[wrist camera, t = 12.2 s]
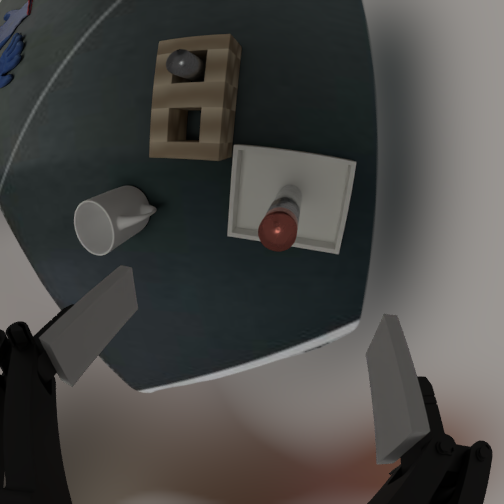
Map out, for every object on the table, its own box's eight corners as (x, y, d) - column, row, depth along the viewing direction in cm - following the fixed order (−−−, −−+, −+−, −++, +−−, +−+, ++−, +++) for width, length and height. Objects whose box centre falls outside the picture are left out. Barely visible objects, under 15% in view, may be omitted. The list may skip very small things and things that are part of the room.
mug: (172, 229, 44) (138, 256, 35) (119, 231, 47) (82, 255, 37) (164, 179, 41) (125, 194, 31) (110, 187, 44) (68, 203, 34)
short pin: (196, 65, 33) (167, 50, 25) (217, 64, 32) (193, 47, 24) (193, 85, 34) (164, 75, 26) (215, 84, 34) (190, 73, 26)
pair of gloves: (-3, 29, 29) (-10, 29, 26) (39, -15, 23) (31, -17, 20) (-11, 107, 42) (-19, 108, 38) (26, 68, 36) (16, 68, 32)
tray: (239, 144, 37) (233, 144, 34) (352, 160, 34) (356, 162, 32) (232, 229, 42) (227, 235, 40) (336, 246, 40) (338, 254, 37)
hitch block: (178, 50, 32) (159, 41, 26) (241, 47, 30) (230, 33, 25) (169, 153, 39) (149, 157, 34) (231, 157, 38) (218, 160, 32)
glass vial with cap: (279, 182, 37) (259, 211, 23) (303, 186, 37) (299, 217, 23) (276, 205, 39) (256, 247, 25) (300, 209, 38) (293, 254, 24)
